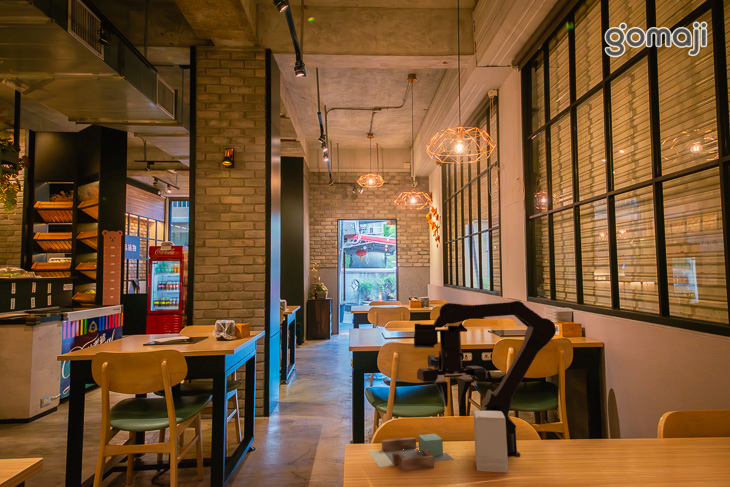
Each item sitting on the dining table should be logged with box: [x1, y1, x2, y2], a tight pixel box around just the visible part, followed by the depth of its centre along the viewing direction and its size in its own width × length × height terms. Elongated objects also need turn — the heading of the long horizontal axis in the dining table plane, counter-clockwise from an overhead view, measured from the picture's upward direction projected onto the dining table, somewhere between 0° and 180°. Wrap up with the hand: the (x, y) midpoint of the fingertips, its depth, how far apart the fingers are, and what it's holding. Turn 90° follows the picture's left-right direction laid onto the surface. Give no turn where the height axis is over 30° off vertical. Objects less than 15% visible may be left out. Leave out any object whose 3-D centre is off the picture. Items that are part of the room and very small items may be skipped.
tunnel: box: [381, 436, 435, 472], centre depth 112 cm, size 10×16×3 cm, turn 13°
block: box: [417, 433, 444, 456], centre depth 115 cm, size 5×5×4 cm
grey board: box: [367, 445, 455, 468], centre depth 114 cm, size 20×12×1 cm, turn 103°
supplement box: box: [473, 410, 509, 473], centre depth 106 cm, size 7×7×13 cm
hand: (453, 405), depth 118 cm, fingers open, 4 cm apart
